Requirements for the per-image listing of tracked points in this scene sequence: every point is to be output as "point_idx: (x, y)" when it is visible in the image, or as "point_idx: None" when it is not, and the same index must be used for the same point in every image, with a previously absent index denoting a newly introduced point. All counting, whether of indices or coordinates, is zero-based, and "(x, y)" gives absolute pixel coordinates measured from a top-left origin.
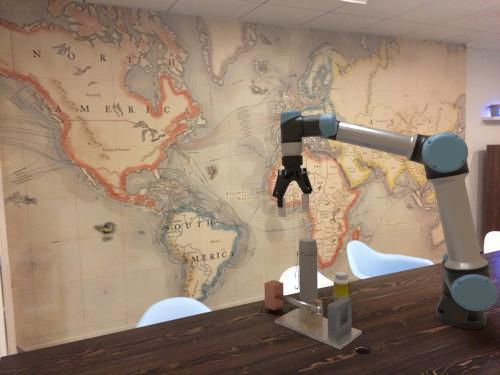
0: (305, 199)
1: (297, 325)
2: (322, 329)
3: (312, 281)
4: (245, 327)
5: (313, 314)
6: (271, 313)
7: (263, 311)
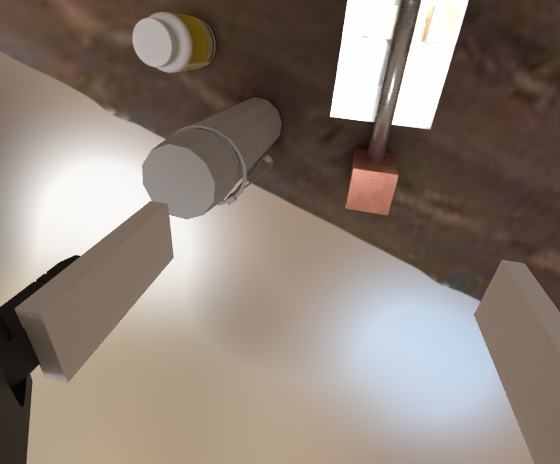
0: (99, 292)
1: (435, 53)
2: None
3: (252, 112)
4: (490, 174)
5: None
6: None
7: None
